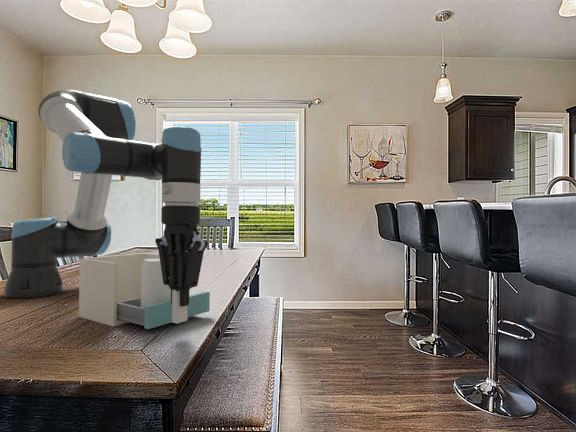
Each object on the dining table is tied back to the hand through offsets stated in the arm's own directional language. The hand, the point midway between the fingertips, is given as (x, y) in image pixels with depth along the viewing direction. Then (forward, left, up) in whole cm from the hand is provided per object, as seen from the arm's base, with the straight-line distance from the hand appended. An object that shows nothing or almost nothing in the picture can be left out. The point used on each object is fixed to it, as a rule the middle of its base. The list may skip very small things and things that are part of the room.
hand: (179, 321), depth 75 cm
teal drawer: (-13, +6, -2) cm, 15 cm away
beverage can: (-15, +6, -1) cm, 16 cm away
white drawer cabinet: (-25, +6, -3) cm, 26 cm away
